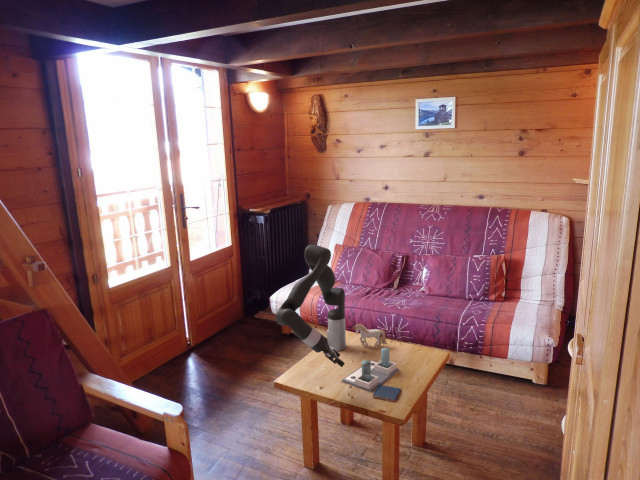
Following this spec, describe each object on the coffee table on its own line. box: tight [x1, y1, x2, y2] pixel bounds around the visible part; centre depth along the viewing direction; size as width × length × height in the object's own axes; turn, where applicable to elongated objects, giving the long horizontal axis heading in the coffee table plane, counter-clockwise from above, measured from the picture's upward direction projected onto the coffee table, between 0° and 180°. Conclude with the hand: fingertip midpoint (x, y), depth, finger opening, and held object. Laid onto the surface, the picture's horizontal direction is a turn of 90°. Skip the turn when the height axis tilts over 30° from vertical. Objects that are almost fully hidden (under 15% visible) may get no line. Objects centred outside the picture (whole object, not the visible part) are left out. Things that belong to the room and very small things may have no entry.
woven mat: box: [372, 384, 403, 403], centre depth 197 cm, size 10×11×2 cm
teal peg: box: [361, 359, 371, 383], centre depth 204 cm, size 4×4×10 cm
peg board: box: [341, 347, 400, 393], centre depth 212 cm, size 16×24×11 cm, turn 140°
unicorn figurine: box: [351, 323, 388, 349], centre depth 243 cm, size 7×20×13 cm, turn 99°
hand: (341, 360), depth 202 cm, fingers open, 8 cm apart
